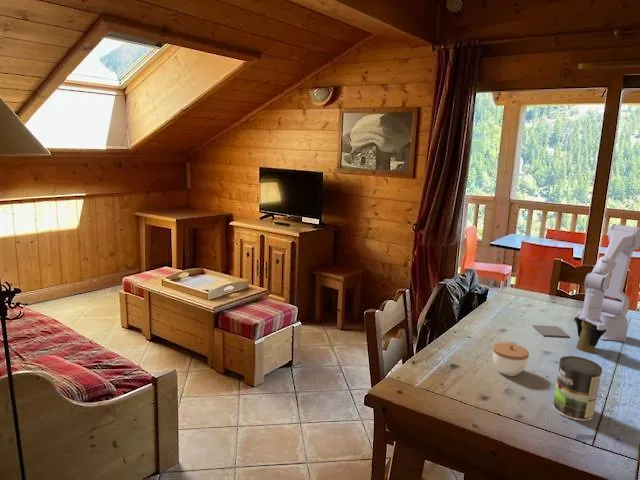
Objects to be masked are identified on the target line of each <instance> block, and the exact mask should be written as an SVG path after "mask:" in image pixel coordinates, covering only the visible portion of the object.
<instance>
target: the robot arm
mask: <svg viewBox="0 0 640 480" xmlns="http://www.w3.org/2000/svg"><path fill="white" fill-rule="evenodd" d="M607 237H608V242H609V243H608V246H607V248H606V250H605V253H604V255H602V256H600V257H598V259H597V262H596V263H595V265H594V267H593V269H592V271H591V272H588V273H587V274H586V275H585V279H584V293H585V294H584V295H585V296H584V300H583V307H582V309H581V310H577V314H576V315H577V316H575V317H574V321H575V325H576V329H577V336H578V338H579V337H580V334H581V331H582V326H581V323H582V321H583V320H585V321H587V322H590V323H592V325H594V326H593V327H590V326H588V327H587V328H588V331H589V345H590V346H595V347H596V346H597V344H598V342H599V340H603V341H604V340H605V341H623V342H624V341H627V339H626V336H627V332H628V327H629V323H628V318H627V317H626V316H627V313H628V312H629V308H630V307H629V304H630V299H629V297H628V296H627V295H626V293H624V291H623V290H624V287H625V284H626V283H625V282H626V279H627V274H628V271H629V267H630V262H631V259H632V255H633V252H634V251H635V250H639V249H640V227H638V226H637V227H635V226H629V225H623V224H617V223H612V224H611V225H610V226H609V228H608V231H607Z"/></svg>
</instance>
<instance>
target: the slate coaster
mask: <svg viewBox="0 0 640 480" xmlns="http://www.w3.org/2000/svg"><path fill="white" fill-rule="evenodd" d="M532 328H534V329H535V331H537V332H538V333H539V334H540V335H541V336H542V337H543V338H549V337H550V338H567V339H568V338H569V339H570V335H569V334H568V333H566V332H565V331H564V330H563V329H562V328H560V327H559V326H557V325H540V324H539V325H537V324H536V325H535V324H532Z"/></svg>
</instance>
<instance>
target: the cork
mask: <svg viewBox="0 0 640 480" xmlns="http://www.w3.org/2000/svg"><path fill="white" fill-rule="evenodd" d="M581 326H582V331H581V334H580V337H578V340H577V344H576V349H577V350H579V351H581V352H585V353H590V354H591V353H595V351H596V346H590V345H589V331H588V328H587V327H588V326H590V327H593V326H594V325H592V323H590V322H587V321H585V320H583V321H582V323H581Z"/></svg>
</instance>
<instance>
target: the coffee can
mask: <svg viewBox="0 0 640 480" xmlns="http://www.w3.org/2000/svg"><path fill="white" fill-rule="evenodd" d="M602 373H603V368H602V366H601V365H599V363H597V362H595V361H593V360H590V359H587V358H584V357H581V356H575V355H567V356H566V355H564V356H562V357H560V358H559V366H558V371H557V377H556V385H555V390H554V395H553V401H552V409H553V410H554V411H555V412H556V413H558V414H559V415H560V414H561V415H560V416H562V415H563V416H562V417H564V416H565V418H566V417H567V419H569V418H570V419H569V420H572V419H574V420H573V421H576V420H579V421H578V422H589V421H592V420H593V419H594V414H595V407H596V402H597V397H598V391H599V387H600V381H601V375H602ZM588 420H589V421H588Z"/></svg>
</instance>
